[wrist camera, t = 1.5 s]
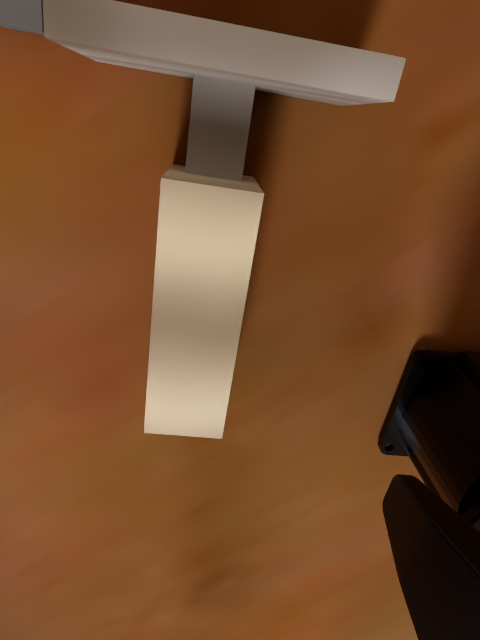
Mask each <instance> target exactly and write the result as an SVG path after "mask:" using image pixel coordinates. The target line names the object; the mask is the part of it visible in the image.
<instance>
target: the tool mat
mask: <svg viewBox="0 0 480 640" xmlns="http://www.w3.org/2000/svg"><path fill="white" fill-rule="evenodd" d="M0 27H4V28H9V29H15V30H20V31H25V32H31V33H36V34H42V35H44V17H43V0H0Z"/></svg>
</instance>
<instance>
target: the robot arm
mask: <svg viewBox="0 0 480 640" xmlns="http://www.w3.org/2000/svg"><path fill="white" fill-rule="evenodd" d="M423 358H425V360H424V361H423V362H420V363H419V361H420V360H421V359H423ZM388 444H390V445H388ZM387 445H388V446H387ZM378 446H379V449H380V451H381V452H382V453H383V454H386V455H397V456H409V457H410V459H411V460H412V462H413V464H414V466H415V467H416V469H417V471H418V473H419V474H420V476H421V478H422V480H423V481H424V483H425V485H424V484H423V483H422V482H421V481H420V480H419V479H417V478H416V477H414V476H412V475H400V474H398V475H395V476H394V477H393V479H392V481H391V483H390V485H389V488H388V490H387V492H386V495H385V497H384V499H383V514H384V518H385V522H386V527H387V531H388V535H389V540H390V544H391V548H392V553H393V557H394V561H395V566H396V570H397V574H398V578H399V582H400V585H401V588H402V592H403V595H404V598H405V601H406V604H407V607H408V610H409V613H410V616H411V619H412V622H413V625H414V628H415V631H416V634H417V637H418V640H480V353H479V352H470V351H462V352H459V353H450V352H441V351H432V350H418V351H416V352H415V353H413V354H412V356H411V358H410V361H409V363H408V366H407V368H406V371H405V374H404V376H403V379H402V381H401V384H400V387H399V389H398V392H397V394H396V397H395V399H394V402H393V405H392V407H391V410H390V412H389V415H388V418H387V420H386V423H385V425H384V428H383V431H382V433H381V436H380V438H379V441H378Z"/></svg>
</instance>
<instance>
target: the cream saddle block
mask: <svg viewBox="0 0 480 640" xmlns="http://www.w3.org/2000/svg"><path fill="white" fill-rule="evenodd" d="M43 17H44V37H45V38H47V39H49V40H51V41H54V42H56V43H58V44H60V45H62V46H64V47H66V48H69V49H71V50H73V51H75V52H77V53H79V54H82V55H84V56H86V57H88V58H90V59H92V60H94V61H97V62H102V63H108V64H113V65H119V66H124V67H130V68H136V69H141V70H147V71H152V72H158V73H163V74H169V75H174V76H180V77H186V78H191V79H193V89H192V100H191V111H190V123H189V134H188V145H187V156H186V166H181V165H174V164H172V166H171V167H170V168H169V169H168V170H167V172H166V173H165V174H164V175H163V176H162V178H161V187H160V201H159V216H158V231H157V246H156V261H155V276H154V291H153V306H152V320H151V335H150V350H149V365H148V380H147V395H146V410H145V425H144V433H154V434H167V435H180V436H193V437H206V438H219V439H222V435H223V429H224V423H225V418H226V412H227V406H228V400H229V395H230V389H231V383H232V377H233V371H234V366H235V360H236V354H237V348H238V343H239V337H240V331H241V325H242V320H243V314H244V308H245V302H246V296H247V291H248V285H249V279H250V273H251V268H252V262H253V256H254V250H255V244H256V239H257V233H258V227H259V221H260V216H261V210H262V204H263V198H264V192H263V191H262V189H261V188H260V186H259V185H258V183H257V182H256V180H255V179H254V177H252V176H245V175H243V168H244V161H245V155H246V148H247V141H248V134H249V128H250V121H251V114H252V107H253V101H254V94H255V90H258V91H263V92H269V93H274V94H280V95H286V96H291V97H297V98H302V99H308V100H313V101H319V102H325V103H330V104H336V105H341V106H344V105H357V104H370V103H382V102H394V100H395V96H396V93H397V89H398V86H399V82H400V79H401V75H402V71H403V68H404V64H405V61H406V58H402V57H397V56H392V55H387V54H382V53H377V52H372V51H367V50H362V49H357V48H352V47H347V46H342V45H337V44H332V43H327V42H321V41H316V40H311V39H306V38H301V37H296V36H291V35H286V34H281V33H276V32H271V31H266V30H261V29H256V28H251V27H246V26H241V25H236V24H231V23H225V22H220V21H215V20H210V19H205V18H200V17H195V16H190V15H185V14H180V13H175V12H170V11H165V10H160V9H155V8H150V7H145V6H140V5H134V4H129V3H124V2H119V1H114V0H43Z"/></svg>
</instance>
